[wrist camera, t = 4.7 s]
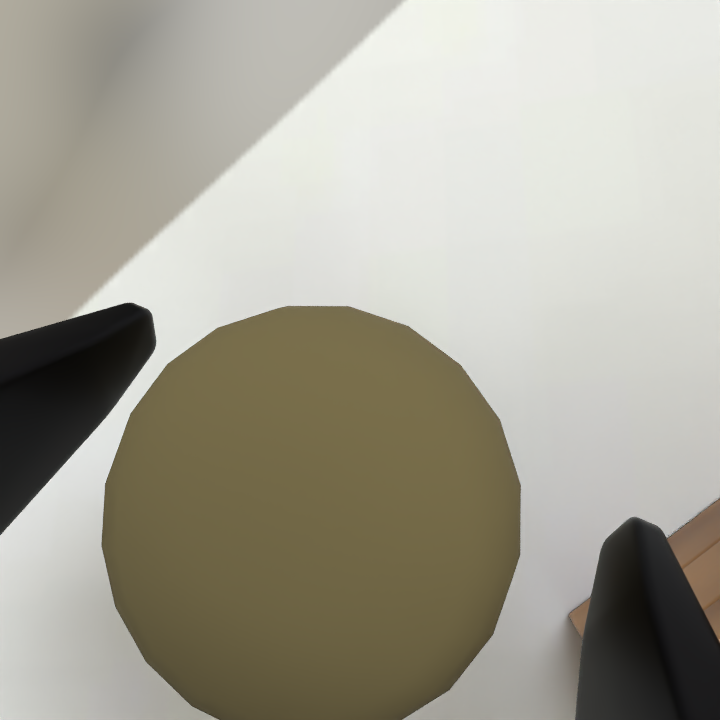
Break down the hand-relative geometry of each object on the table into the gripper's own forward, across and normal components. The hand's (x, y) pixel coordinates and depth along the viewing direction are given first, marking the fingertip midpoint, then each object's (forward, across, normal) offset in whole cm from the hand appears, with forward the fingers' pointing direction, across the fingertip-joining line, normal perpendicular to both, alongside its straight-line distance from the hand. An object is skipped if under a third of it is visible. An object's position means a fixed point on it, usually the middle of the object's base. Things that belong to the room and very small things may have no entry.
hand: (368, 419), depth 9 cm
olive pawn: (+4, 0, +6) cm, 7 cm away
